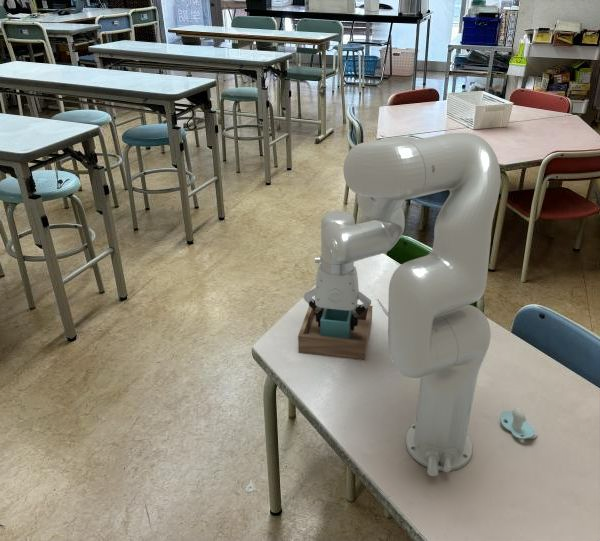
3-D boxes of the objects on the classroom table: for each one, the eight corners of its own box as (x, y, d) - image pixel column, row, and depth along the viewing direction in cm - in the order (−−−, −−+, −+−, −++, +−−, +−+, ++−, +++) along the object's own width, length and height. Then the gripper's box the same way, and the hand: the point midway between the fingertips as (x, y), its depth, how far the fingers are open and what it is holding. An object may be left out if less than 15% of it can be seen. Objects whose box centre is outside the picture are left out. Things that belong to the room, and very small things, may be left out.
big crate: (364, 360, 129) (365, 343, 127) (298, 352, 132) (298, 335, 130) (371, 321, 143) (372, 305, 140) (311, 315, 146) (311, 299, 143)
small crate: (348, 343, 133) (349, 323, 130) (320, 340, 135) (320, 320, 132) (352, 327, 139) (353, 307, 136) (325, 324, 140) (325, 304, 137)
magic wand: (370, 293, 157) (373, 288, 157) (406, 342, 136) (410, 337, 135) (365, 291, 156) (369, 286, 156) (401, 340, 135) (405, 335, 134)
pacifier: (516, 414, 113) (494, 423, 111) (522, 390, 110) (500, 400, 108) (544, 437, 108) (522, 448, 105) (551, 414, 105) (528, 424, 102)
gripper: (297, 268, 125) (299, 330, 134) (373, 275, 122) (370, 338, 131) (304, 253, 132) (305, 313, 141) (376, 259, 128) (373, 320, 137)
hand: (336, 325), depth 136 cm, fingers open, 7 cm apart
